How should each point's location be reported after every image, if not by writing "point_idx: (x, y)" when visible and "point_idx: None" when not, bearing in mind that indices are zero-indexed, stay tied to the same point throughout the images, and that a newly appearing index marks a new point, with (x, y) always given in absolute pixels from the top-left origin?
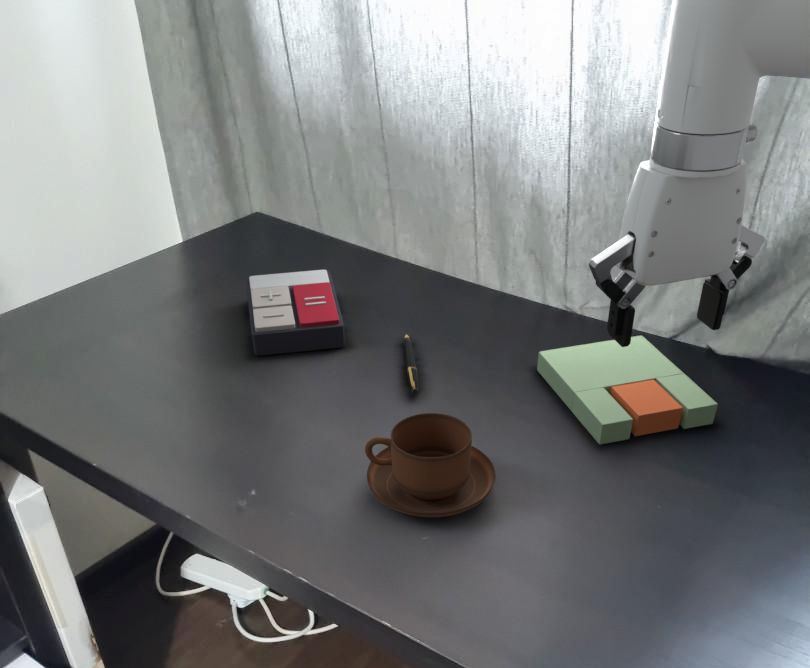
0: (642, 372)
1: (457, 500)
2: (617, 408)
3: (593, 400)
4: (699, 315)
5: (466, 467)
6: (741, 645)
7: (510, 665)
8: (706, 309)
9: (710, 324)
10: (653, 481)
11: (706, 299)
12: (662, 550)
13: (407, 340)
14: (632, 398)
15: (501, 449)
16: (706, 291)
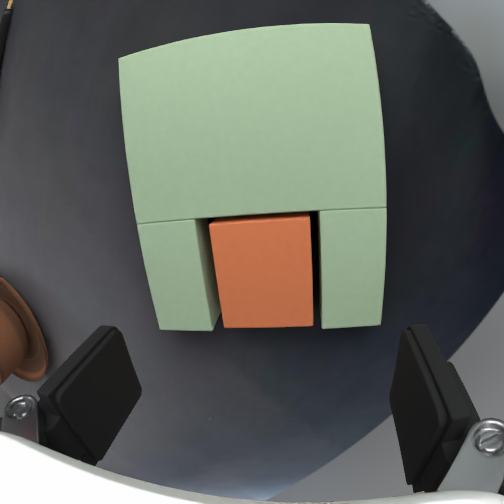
0: (301, 179)
1: (31, 349)
2: (196, 296)
3: (162, 260)
4: (402, 348)
5: (15, 368)
6: None
7: None
8: (406, 393)
9: (393, 395)
10: (219, 390)
11: (414, 409)
12: (193, 451)
13: (2, 17)
14: (234, 275)
15: (59, 281)
16: (425, 419)
